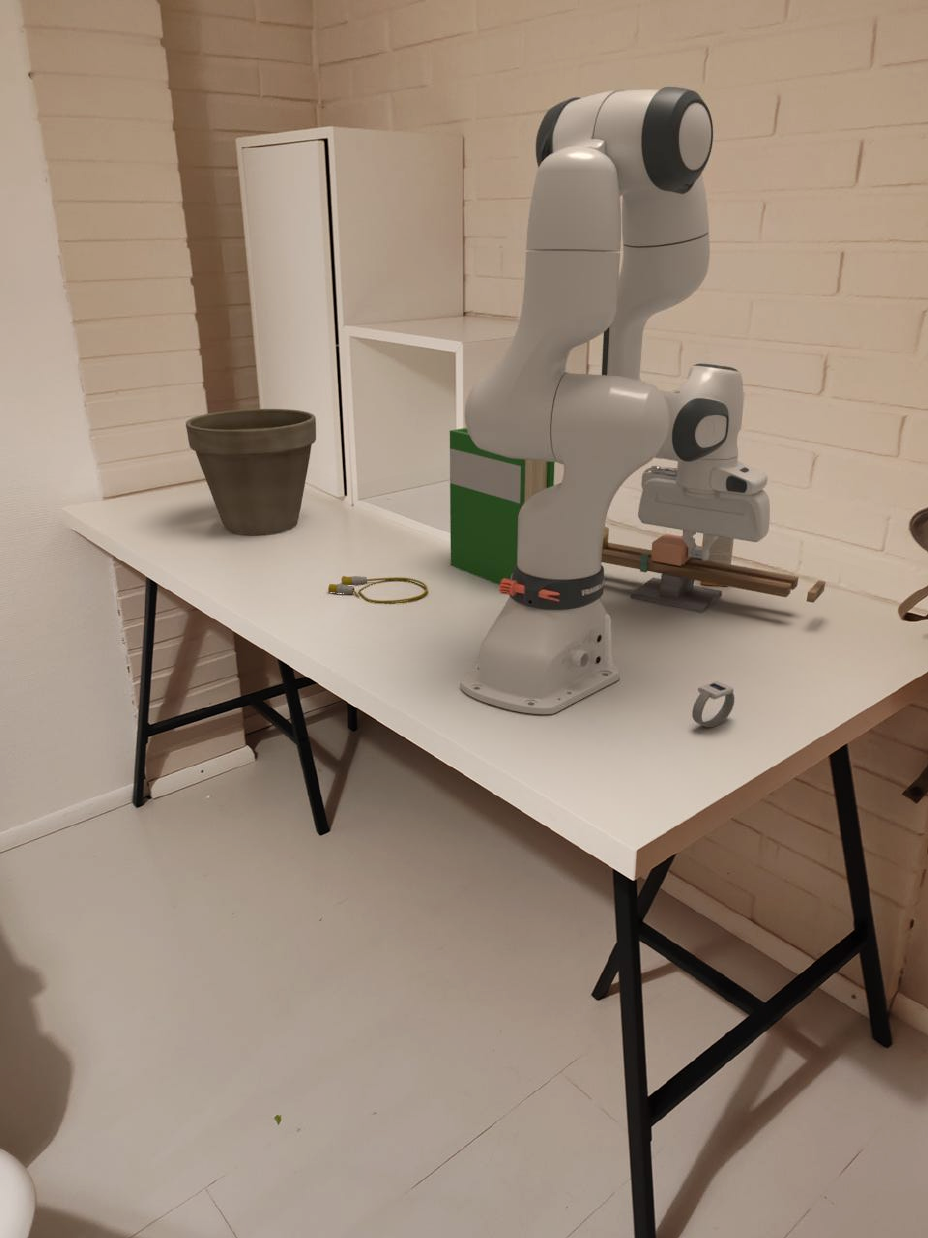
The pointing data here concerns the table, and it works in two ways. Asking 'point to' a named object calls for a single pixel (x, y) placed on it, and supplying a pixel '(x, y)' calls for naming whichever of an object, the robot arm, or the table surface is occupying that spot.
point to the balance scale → (697, 578)
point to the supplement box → (719, 552)
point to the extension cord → (362, 580)
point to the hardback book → (489, 505)
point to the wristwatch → (714, 692)
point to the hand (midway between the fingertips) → (697, 558)
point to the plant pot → (255, 465)
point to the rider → (670, 550)
